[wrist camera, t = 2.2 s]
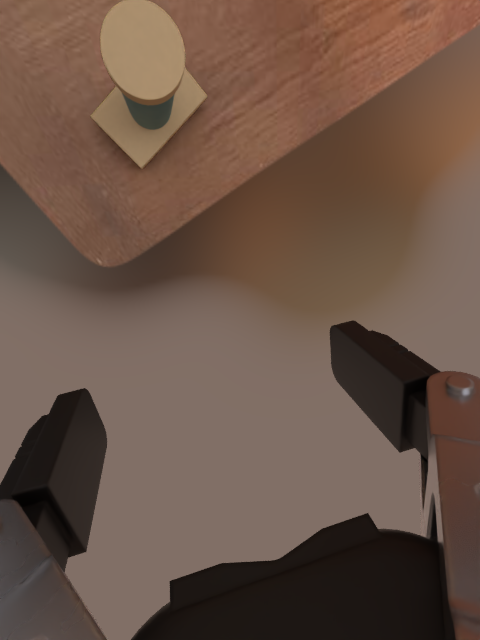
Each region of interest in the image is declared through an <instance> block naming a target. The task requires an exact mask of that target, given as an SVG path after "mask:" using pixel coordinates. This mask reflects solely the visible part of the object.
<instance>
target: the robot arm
mask: <svg viewBox="0 0 480 640" xmlns="http://www.w3.org/2000/svg"><path fill="white" fill-rule="evenodd" d="M330 345H331V364H332V370H333V374H334V376H335V378H336V380H337V382H338V383H339V384H340V385H341V386H342V388H343V389H344V390H345V391H346V392H347V393H348V395H349V396H350V397H351V398H352V399H353V400H354V401H355V402H356V404H357V405H358V406H359V407H360V408H361V409H362V410H363V411H364V413H365V414H366V415H367V416H368V417H369V418H370V419H371V421H372V422H373V423H374V424H375V425H376V426H377V427H378V428H379V430H380V431H381V432H382V433H383V434H384V435H385V437H386V438H387V439H388V440H389V441H390V442H391V443H392V444H393V445H394V447H395V448H396V449H397V450H398V451H399V452H403V451H406V450H409V449H413V448H416V449H417V450H418V451H419V452H420V459H419V472H420V501H421V502H420V504H421V536H420V535H417V534H413V533H410V532H405V531H400V530H392V529H377V527H376V525H375V524H374V522H373V521H372V519H371V518H370V516H369V514H368V513H367V514H364V515H361V516H358V517H355V518H352V519H349V520H346V521H344V522H341V523H338V524H335V525H332V526H329V527H326V528H323V529H321V530H320V531H318V532H317V533H316V534H314V535H313V536H311V537H310V538H309V539H307V540H306V541H304V542H303V543H301V544H300V545H299V546H297V547H296V548H294V549H293V550H292V551H290V552H289V553H287V554H286V555H284V556H283V557H282V558H280V559H277V560H273V561H257V562H238V563H222V564H218V565H215V566H213V567H210V568H207V569H204V570H201V571H198V572H195V573H193V574H189V575H186V576H183V577H181V578H178V579H175V580H172V581H170V602H169V603H168V604H166V605H165V606H163V607H162V608H161V609H160V610H159V611H157V612H156V613H155V614H154V615H153V616H152V617H151V618H150V619H149V620H148V621H147V622H146V623H145V624H144V625H143V626H142V627H141V628H140V629H139V630H138V631H137V633H136V634H135V635H134V637H133V638H132V639H131V640H480V378H478V377H476V376H473V375H470V374H467V373H463V372H456V371H445V372H440V371H439V370H437V369H436V368H434V367H433V366H431V365H430V364H428V363H427V362H425V361H424V360H423V359H421V358H420V357H418V356H417V355H415V354H414V353H412V352H411V351H408V349H406V348H405V347H403V346H402V345H399V343H398V342H396V341H395V340H393V339H392V338H390V337H389V336H387V335H384V334H381V333H378V332H375V331H368V330H367V329H365V328H364V327H363V326H361V325H360V324H358V323H357V322H356V321H349V322H345V323H341V324H338V325H334V326H332V327H331V328H330ZM21 445H22V447H20V448H19V450H18V452H17V454H16V456H15V459H14V460H13V461H12V463H11V465H10V467H9V469H8V471H7V473H6V475H5V477H4V479H3V481H2V482H1V485H0V640H108V639H107V637H106V635H105V634H104V632H103V631H102V629H101V628H100V626H99V625H98V623H97V622H96V620H95V619H94V617H93V616H92V614H91V613H90V611H89V609H88V608H87V606H86V605H85V603H84V602H83V600H82V599H81V597H80V596H79V594H78V593H77V591H76V590H75V588H74V586H73V585H72V583H71V582H70V580H69V579H68V577H67V576H66V574H65V573H64V572H65V568H66V564H67V559H68V557H71V556H75V555H77V554H81V553H84V552H86V550H87V545H88V540H89V535H90V530H91V525H92V520H93V514H94V509H95V504H96V499H97V494H98V489H99V484H100V479H101V473H102V469H103V463H104V458H105V453H106V448H107V438H106V431H105V428H104V425H103V423H102V420H101V418H100V416H99V413H98V411H97V409H96V407H95V404H94V402H93V400H92V397H91V395H90V393H89V391H88V390H87V389H85V388H84V389H80V390H76V391H72V392H68V393H64V394H60V395H58V396H57V398H56V400H55V402H54V404H53V406H52V408H51V410H50V413H49V414H48V415H44V416H42V417H41V418H40V419H39V420H38V421H37V422H36V423H35V424H34V425H33V426H32V427H31V428H30V429H29V431H28V433H27V435H26V436H25V438H24V440H23V442H22V444H21Z"/></svg>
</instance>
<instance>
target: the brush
mask: <svg viewBox="0 0 480 640" xmlns="http://www.w3.org/2000/svg"><path fill="white" fill-rule="evenodd" d="M100 49H101V54H102V58H103V61H104V64H105V67H106V69H107V71H108V73H109V75H110V77H111V79H112V81H113V82H114V84H115V85H116V87H115V88H114V89H113V90H112V91H111V92H110V93H109V95H108V96H107V97H106V98H105V99H104V100H103V102H102V103H101V104H100V105H99V106H98V107H97V109H96V110H95V111H94V112H93V113H92V114H91V116H90V117H91V118H92V119H93V120H94V121H95V122H96V123H97V124H98V125H99V126H100V127H101V128H102V129H103V130H104V131H105V133H106V134H107V135H108V136H109V137H110V138H111V139H112V140H113V141H114V142H115V143H116V144H117V145H118V146H119V147H120V148H121V149H122V150H123V151H124V152H125V153H126V154H127V155H128V156H129V157H130V158H131V159H132V160H133V161H134V162H135V163H136V164H137V165H138V166H139V167H140V168H141V169H143V168H144V167H145V166H146V165H147V164H148V163H149V162H150V161H151V160H152V159H153V157H154V156H155V155H156V154H157V153H158V152H159V151H160V150H161V149H162V148H163V146H164V145H165V144H166V143H167V142H168V141H169V140H170V139H171V138H172V136H173V135H174V134H175V133H176V132H177V131H178V130H179V129H180V128H181V127H182V125H183V124H184V123H185V122H186V121H187V120H188V119H189V118H190V117H191V116H192V114H193V113H194V112H195V111H196V110H197V109H198V108H199V107H200V106H201V105H202V103H203V102H204V101H205V100H206V98H207V95H206V93H205V92H204V91H203V90H202V88H201V87H200V86H199V84H198V83H197V82H196V81H195V79H194V78H193V77H192V76H191V74H190V73H189V72H188V70H187V69H186V68H185V48H184V43H183V39H182V36H181V34H180V31H179V29H178V27H177V26H176V24H175V22H174V21H173V19H172V18H171V17H170V16H169V15H168V14H167V13H166V12H165V11H164V10H163V9H162V8H161V7H159V6H158V5H156V4H154V3H153V2H150V1H148V0H123V1H121V2H119V3H118V4H116V5H115V6H114V7H113V8H112V9H111V10H110V11H109V12H108V14H107V15H106V17H105V19H104V21H103V24H102V27H101V32H100Z"/></svg>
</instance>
